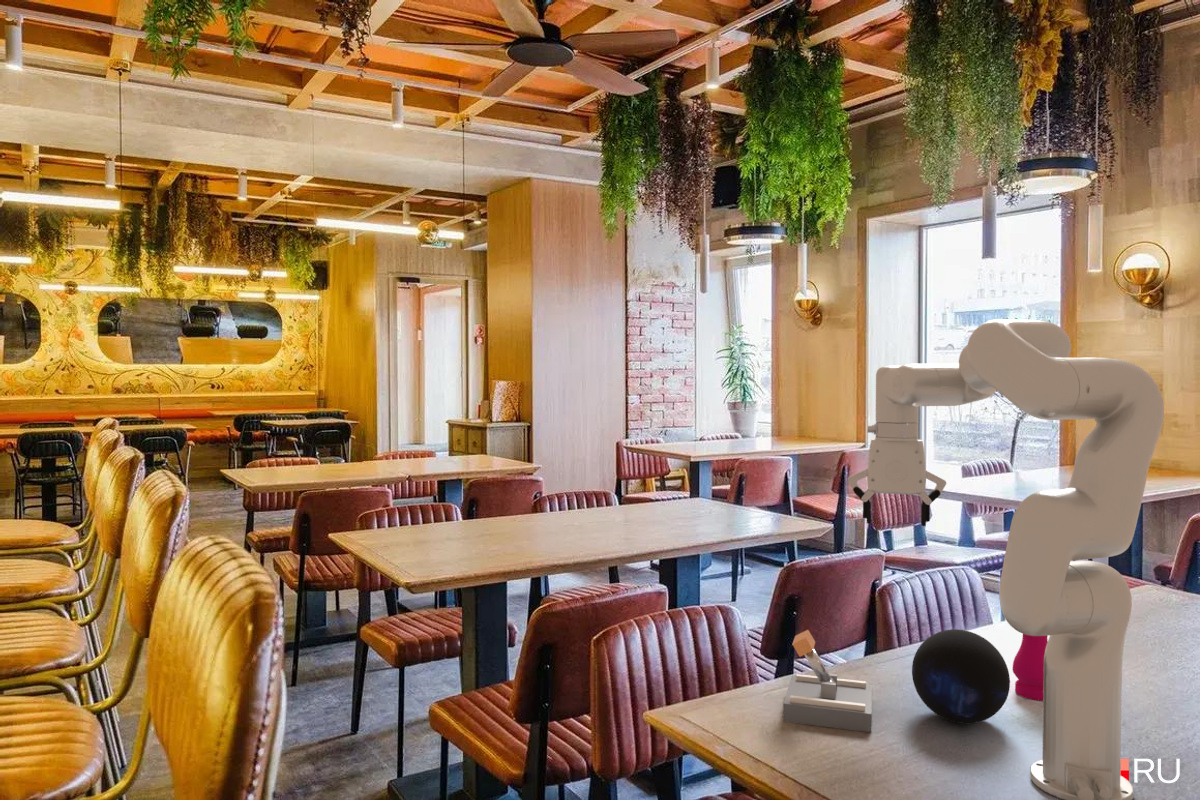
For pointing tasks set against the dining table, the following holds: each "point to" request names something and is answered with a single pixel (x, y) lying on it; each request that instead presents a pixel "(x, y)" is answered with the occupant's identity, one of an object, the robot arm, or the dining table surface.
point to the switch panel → (829, 703)
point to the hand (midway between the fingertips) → (895, 523)
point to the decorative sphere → (960, 676)
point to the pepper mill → (1030, 667)
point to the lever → (811, 655)
